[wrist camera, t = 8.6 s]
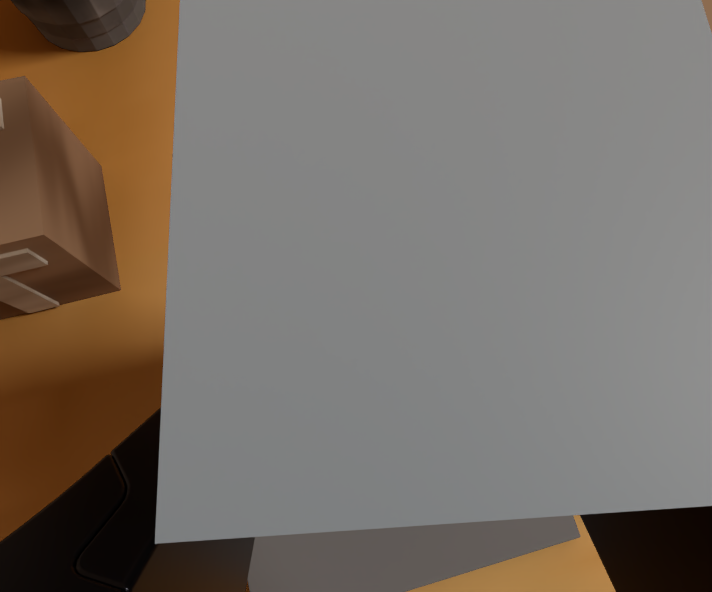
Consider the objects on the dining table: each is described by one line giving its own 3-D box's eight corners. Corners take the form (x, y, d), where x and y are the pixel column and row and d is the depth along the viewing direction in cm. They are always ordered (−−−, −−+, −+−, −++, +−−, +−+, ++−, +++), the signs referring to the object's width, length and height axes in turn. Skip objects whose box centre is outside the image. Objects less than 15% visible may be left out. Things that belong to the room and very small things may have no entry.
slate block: (458, 460, 15) (854, 497, 3) (301, 470, 15) (156, 544, 3) (441, 309, 16) (688, -39, 5) (297, 316, 16) (181, -27, 4)
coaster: (574, 534, 16) (580, 537, 16) (260, 632, 15) (258, 637, 15) (456, 197, 19) (458, 192, 19) (189, 260, 18) (186, 256, 18)
